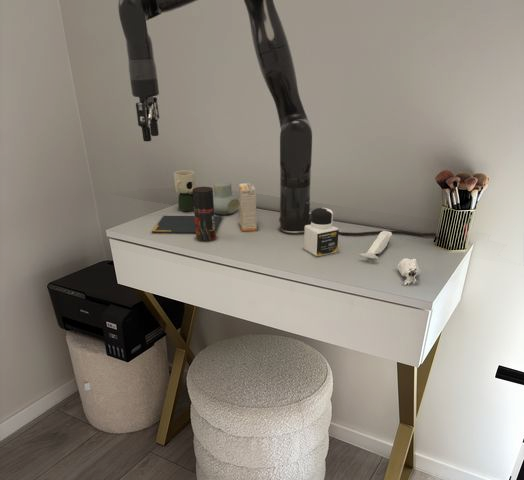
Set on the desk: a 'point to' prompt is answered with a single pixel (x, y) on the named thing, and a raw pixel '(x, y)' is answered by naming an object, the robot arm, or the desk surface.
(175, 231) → the mat
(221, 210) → the grey green rounded piece
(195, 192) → the deodorant
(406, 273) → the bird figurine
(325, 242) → the medicine bottle
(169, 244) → the desk surface
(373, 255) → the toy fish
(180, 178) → the character mug
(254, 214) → the supplement box
